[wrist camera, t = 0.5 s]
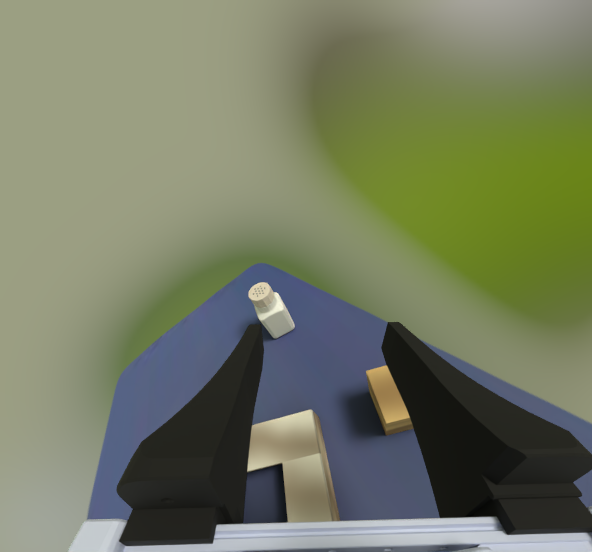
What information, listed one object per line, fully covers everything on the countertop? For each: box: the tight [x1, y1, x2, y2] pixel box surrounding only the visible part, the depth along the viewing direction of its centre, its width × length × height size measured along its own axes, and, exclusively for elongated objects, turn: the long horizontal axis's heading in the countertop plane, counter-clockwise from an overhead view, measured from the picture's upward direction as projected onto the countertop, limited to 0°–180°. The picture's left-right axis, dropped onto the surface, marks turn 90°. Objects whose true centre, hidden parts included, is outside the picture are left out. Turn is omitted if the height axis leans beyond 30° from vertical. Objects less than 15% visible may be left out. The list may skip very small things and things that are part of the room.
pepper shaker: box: [249, 282, 295, 338], centre depth 33 cm, size 4×4×10 cm
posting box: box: [247, 410, 340, 523], centre depth 21 cm, size 14×14×4 cm
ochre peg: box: [366, 365, 414, 435], centre depth 23 cm, size 4×4×7 cm
